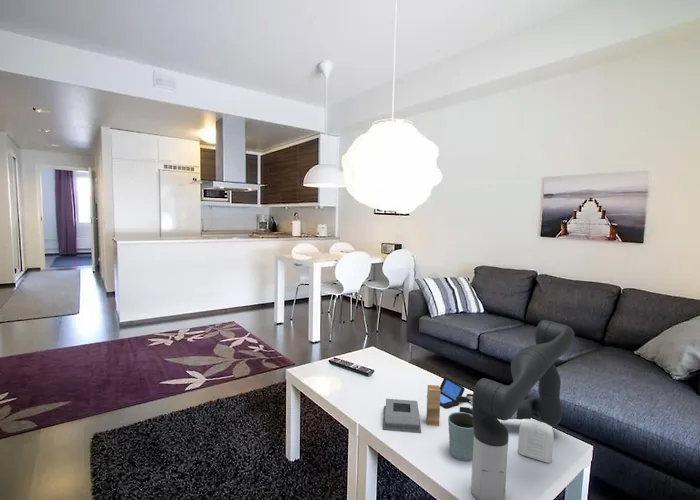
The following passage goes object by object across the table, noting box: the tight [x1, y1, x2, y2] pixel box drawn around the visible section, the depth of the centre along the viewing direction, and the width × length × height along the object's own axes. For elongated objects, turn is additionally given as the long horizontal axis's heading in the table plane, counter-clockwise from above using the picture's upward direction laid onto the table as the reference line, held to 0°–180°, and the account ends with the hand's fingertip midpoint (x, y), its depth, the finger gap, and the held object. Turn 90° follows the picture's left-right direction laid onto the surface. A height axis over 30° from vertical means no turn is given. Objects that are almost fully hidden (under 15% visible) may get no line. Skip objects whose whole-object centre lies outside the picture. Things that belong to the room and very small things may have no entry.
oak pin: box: [425, 384, 441, 427], centre depth 144 cm, size 4×4×14 cm
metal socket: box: [382, 398, 422, 434], centre depth 146 cm, size 16×14×5 cm
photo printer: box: [517, 418, 555, 464], centre depth 125 cm, size 10×4×12 cm, turn 60°
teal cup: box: [447, 411, 474, 462], centre depth 126 cm, size 10×10×12 cm
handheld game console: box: [439, 376, 465, 410], centre depth 163 cm, size 12×11×7 cm
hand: (457, 404), depth 143 cm, fingers open, 8 cm apart
